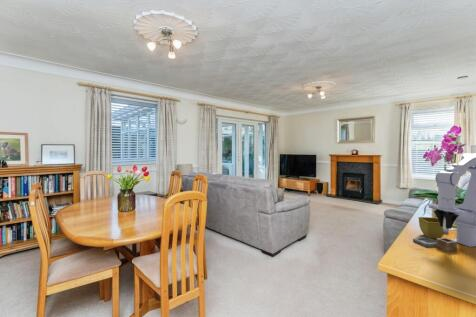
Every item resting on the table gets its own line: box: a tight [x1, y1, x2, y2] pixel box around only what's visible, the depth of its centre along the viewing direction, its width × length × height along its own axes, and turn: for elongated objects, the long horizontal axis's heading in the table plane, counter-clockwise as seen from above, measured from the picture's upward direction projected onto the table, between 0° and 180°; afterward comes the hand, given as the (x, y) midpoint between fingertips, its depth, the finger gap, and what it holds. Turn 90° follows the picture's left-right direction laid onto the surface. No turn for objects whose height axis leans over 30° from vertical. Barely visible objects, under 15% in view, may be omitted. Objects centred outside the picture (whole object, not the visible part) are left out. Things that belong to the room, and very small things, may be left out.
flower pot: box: [418, 216, 445, 239], centre depth 119 cm, size 9×9×9 cm
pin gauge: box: [443, 216, 450, 236], centre depth 104 cm, size 2×2×8 cm
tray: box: [412, 236, 436, 248], centre depth 110 cm, size 8×7×2 cm
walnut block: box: [435, 237, 458, 252], centre depth 104 cm, size 5×5×4 cm
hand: (445, 227), depth 104 cm, fingers closed on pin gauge, 2 cm apart
